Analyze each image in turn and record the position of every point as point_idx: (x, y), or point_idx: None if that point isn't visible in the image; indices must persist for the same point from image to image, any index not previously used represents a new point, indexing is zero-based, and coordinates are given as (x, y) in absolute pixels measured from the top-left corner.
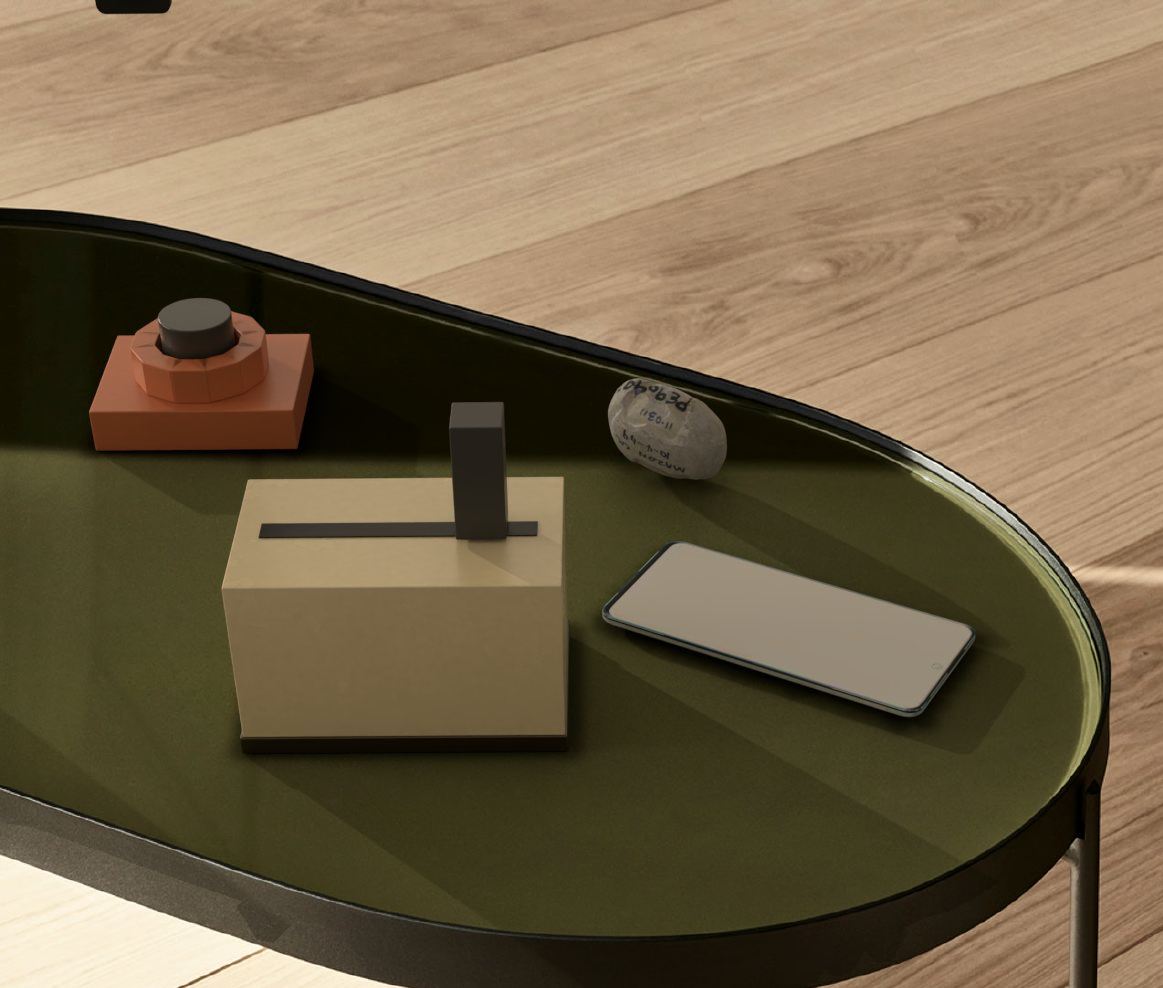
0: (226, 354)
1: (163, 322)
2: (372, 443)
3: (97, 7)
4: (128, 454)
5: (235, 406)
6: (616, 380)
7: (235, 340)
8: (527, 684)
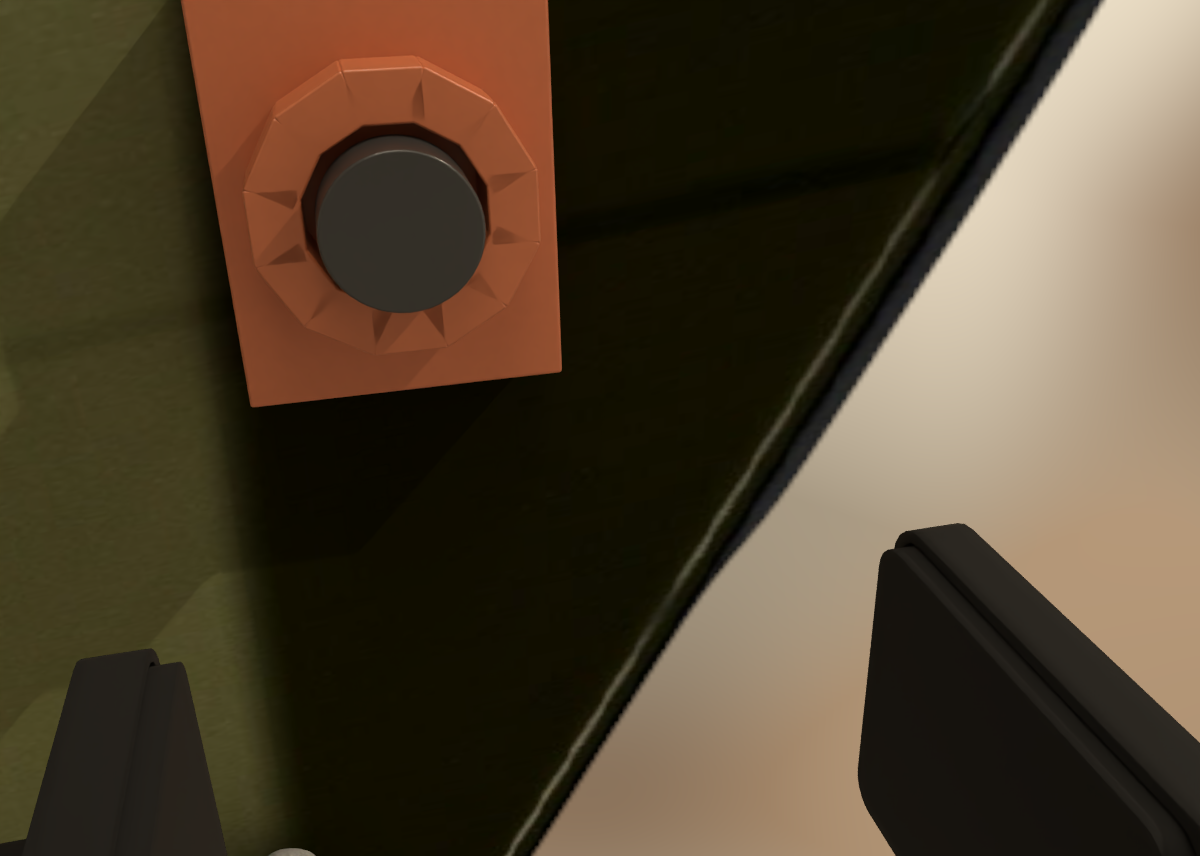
0: (333, 294)
1: (356, 171)
2: (296, 491)
3: (81, 665)
4: (187, 50)
5: (250, 298)
6: (531, 777)
7: None
8: None
